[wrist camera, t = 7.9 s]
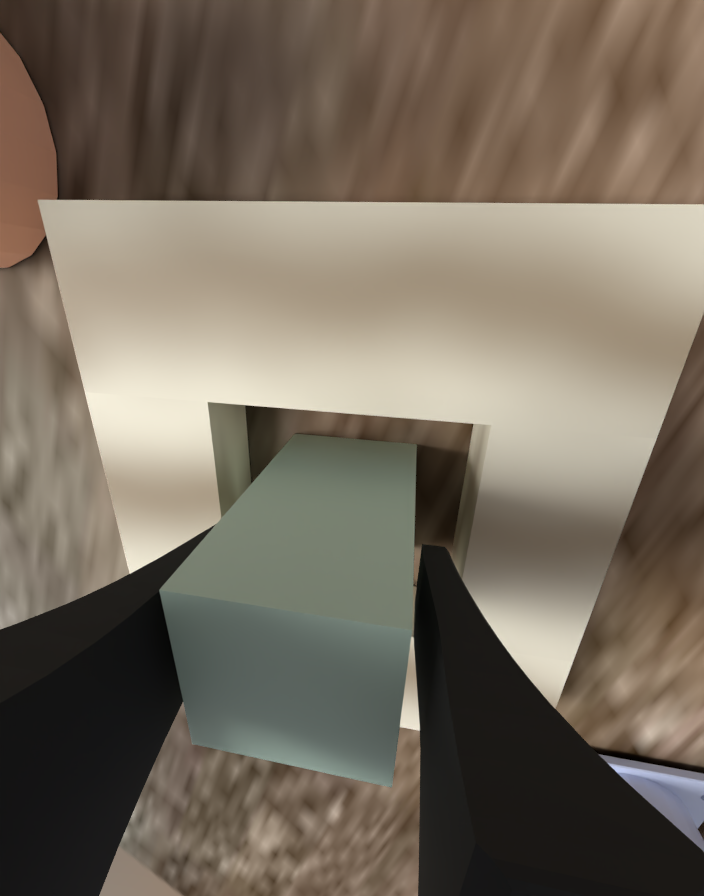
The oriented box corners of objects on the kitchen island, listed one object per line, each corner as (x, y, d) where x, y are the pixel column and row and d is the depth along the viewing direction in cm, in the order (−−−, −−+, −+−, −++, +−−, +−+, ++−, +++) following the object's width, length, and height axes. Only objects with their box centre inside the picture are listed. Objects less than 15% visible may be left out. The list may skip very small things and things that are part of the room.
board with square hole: (522, 690, 17) (538, 753, 15) (187, 633, 19) (156, 681, 17) (668, 224, 10) (744, 204, 8) (109, 216, 12) (37, 199, 10)
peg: (405, 546, 15) (391, 786, 8) (298, 532, 16) (192, 744, 8) (416, 443, 13) (412, 629, 6) (295, 432, 14) (159, 590, 7)
